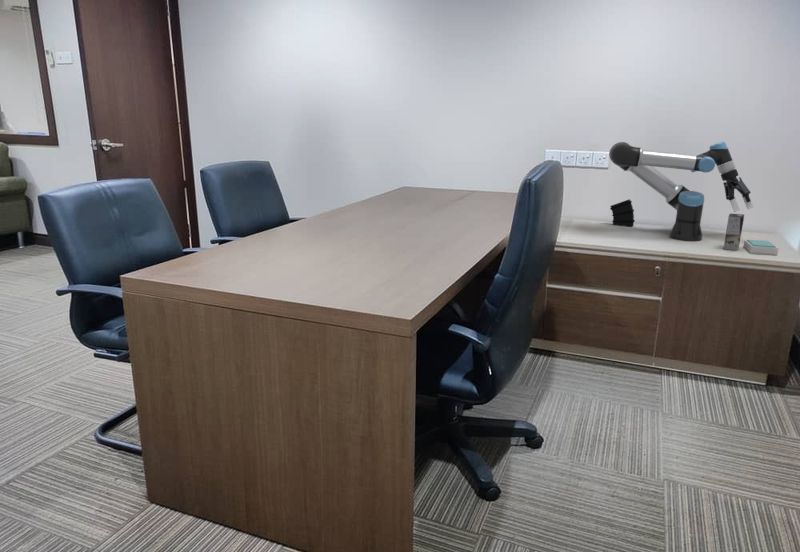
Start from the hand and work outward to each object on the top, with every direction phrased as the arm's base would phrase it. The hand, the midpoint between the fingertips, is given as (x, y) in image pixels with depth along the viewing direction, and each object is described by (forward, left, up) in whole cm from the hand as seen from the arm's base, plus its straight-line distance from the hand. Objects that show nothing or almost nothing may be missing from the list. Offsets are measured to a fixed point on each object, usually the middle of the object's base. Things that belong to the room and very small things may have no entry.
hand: (743, 209), depth 304 cm
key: (+2, -29, -13) cm, 31 cm away
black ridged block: (-57, +17, -15) cm, 61 cm away
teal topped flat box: (+2, -29, -15) cm, 32 cm away
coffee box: (-9, -26, -15) cm, 31 cm away
